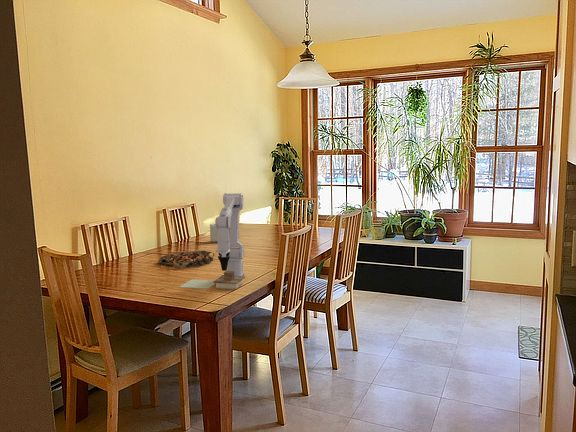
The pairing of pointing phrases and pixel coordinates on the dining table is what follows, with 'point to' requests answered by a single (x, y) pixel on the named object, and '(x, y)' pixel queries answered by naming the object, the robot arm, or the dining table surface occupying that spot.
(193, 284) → the beige flat square piece
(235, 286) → the white square tray
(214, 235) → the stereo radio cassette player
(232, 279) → the lid
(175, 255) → the food dish
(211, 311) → the dining table surface
